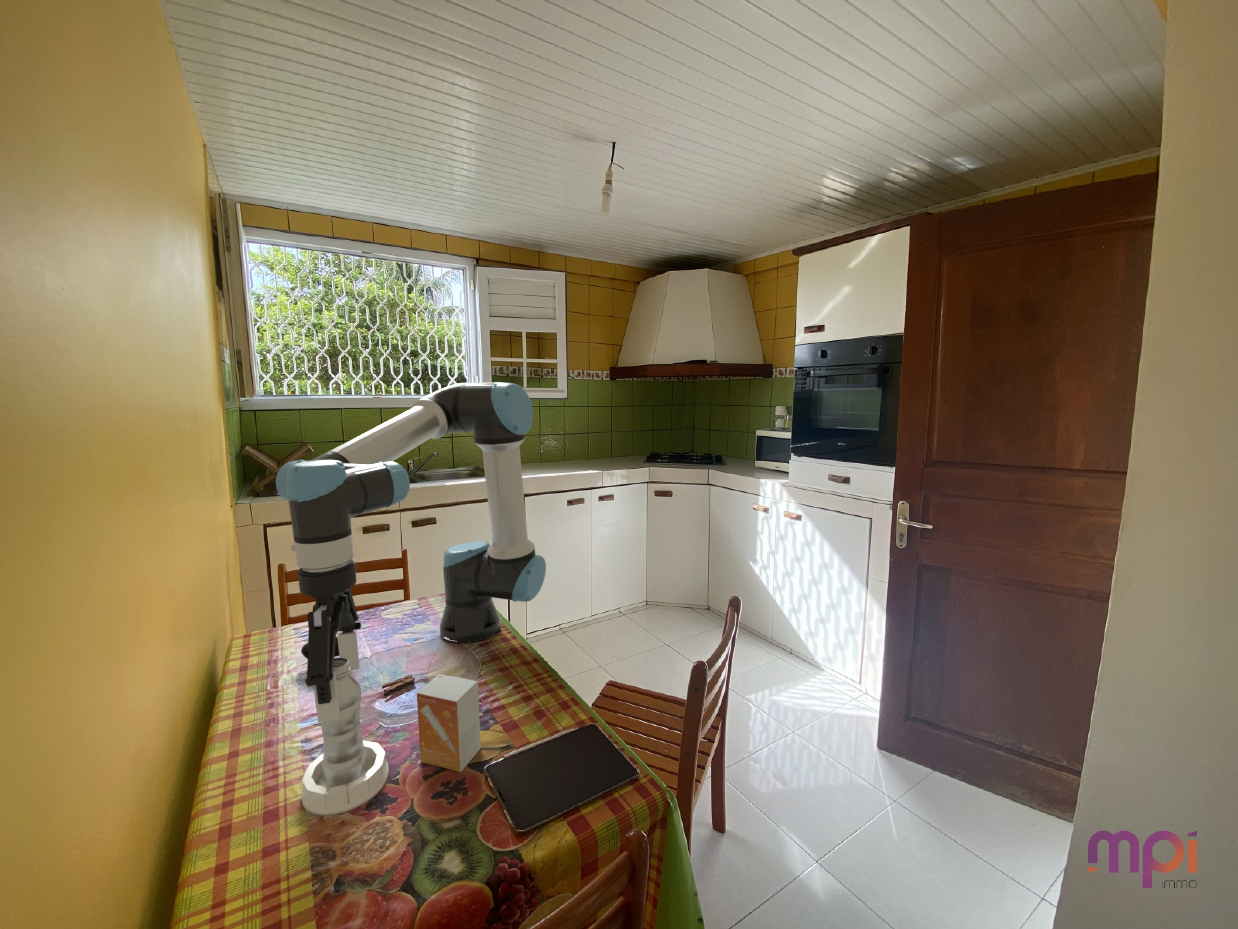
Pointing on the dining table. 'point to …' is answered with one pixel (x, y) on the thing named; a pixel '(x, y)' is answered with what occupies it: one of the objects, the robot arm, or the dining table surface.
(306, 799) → the bowl
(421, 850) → the dining table surface
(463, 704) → the small box
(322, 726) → the plastic bottle
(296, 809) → the dining table surface
